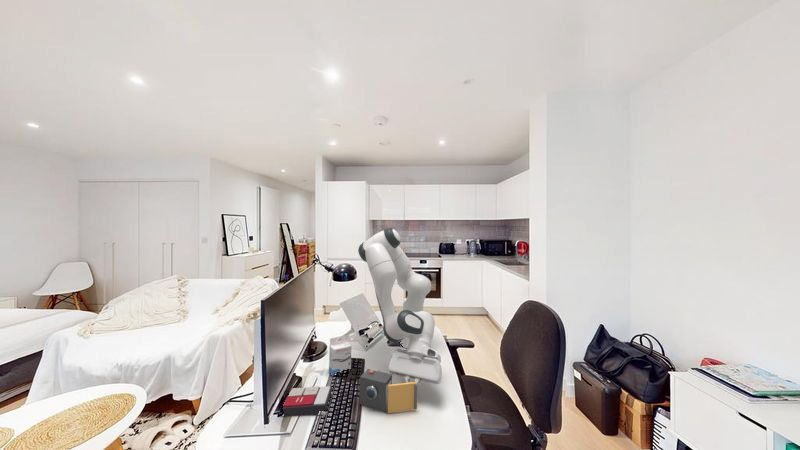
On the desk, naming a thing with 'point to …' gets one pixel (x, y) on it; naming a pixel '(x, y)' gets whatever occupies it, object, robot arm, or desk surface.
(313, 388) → the calculator
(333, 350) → the ink box
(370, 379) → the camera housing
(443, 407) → the desk surface
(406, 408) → the side door
